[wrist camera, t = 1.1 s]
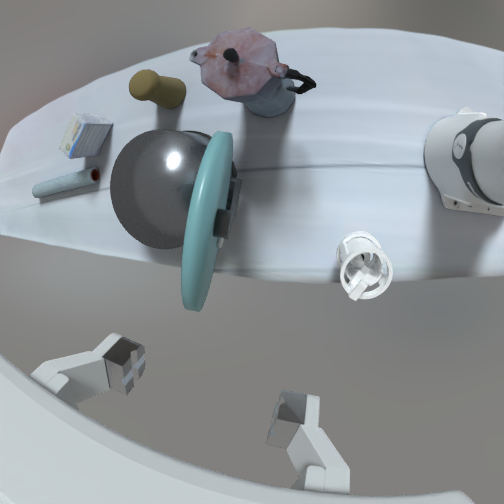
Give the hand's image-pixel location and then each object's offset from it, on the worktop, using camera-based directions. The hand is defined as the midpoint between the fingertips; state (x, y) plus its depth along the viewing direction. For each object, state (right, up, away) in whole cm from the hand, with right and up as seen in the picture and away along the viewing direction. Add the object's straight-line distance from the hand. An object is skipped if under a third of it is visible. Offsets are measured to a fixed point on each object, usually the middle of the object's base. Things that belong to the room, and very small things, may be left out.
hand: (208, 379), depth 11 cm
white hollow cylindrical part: (+19, +7, +38) cm, 43 cm away
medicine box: (-30, +29, +41) cm, 59 cm away
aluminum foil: (-41, +23, +46) cm, 66 cm away
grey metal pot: (-10, +18, +41) cm, 45 cm away
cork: (-13, +34, +36) cm, 51 cm away
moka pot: (+5, +31, +33) cm, 46 cm away
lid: (-3, +8, +20) cm, 22 cm away
